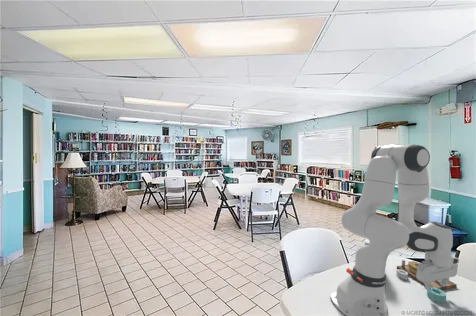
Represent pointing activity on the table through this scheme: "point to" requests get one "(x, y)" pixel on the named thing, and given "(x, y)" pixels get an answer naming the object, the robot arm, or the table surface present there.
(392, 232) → the robot arm
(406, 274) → the grey gear
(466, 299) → the table surface
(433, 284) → the gear board
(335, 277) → the table surface
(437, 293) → the teal gear
